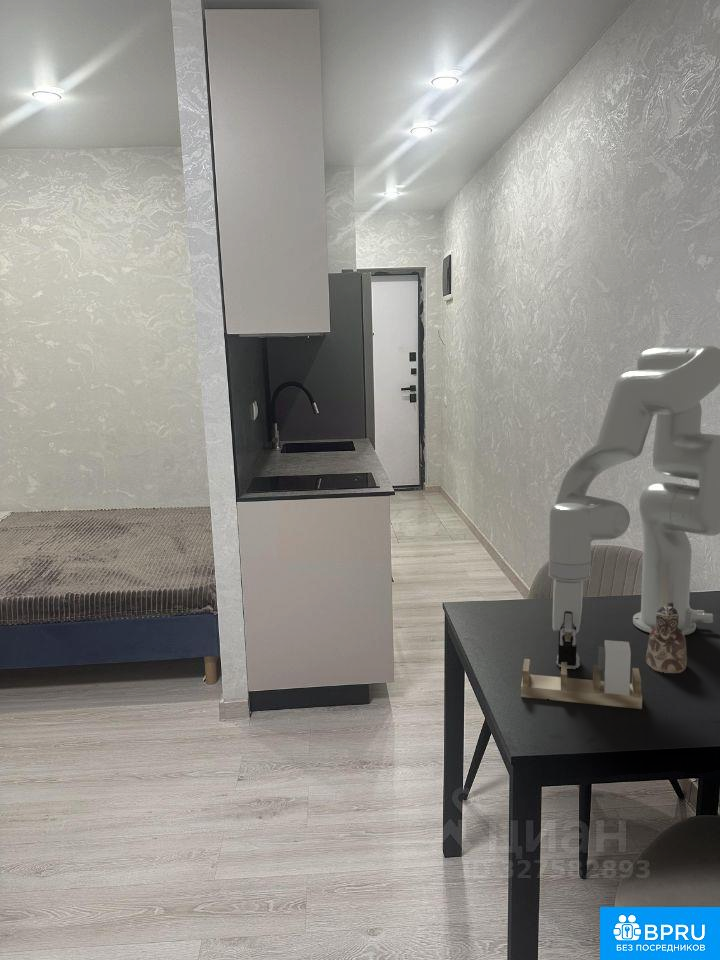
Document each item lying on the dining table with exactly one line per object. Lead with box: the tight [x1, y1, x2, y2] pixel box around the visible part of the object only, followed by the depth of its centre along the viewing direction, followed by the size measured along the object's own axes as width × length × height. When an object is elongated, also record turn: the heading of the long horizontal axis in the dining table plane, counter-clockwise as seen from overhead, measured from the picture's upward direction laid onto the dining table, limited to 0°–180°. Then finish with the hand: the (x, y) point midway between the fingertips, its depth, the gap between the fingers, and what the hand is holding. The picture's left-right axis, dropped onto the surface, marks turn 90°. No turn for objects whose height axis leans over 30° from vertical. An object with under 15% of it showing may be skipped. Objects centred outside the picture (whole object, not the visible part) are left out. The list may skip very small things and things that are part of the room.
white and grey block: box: [597, 639, 632, 695], centre depth 120 cm, size 5×4×8 cm
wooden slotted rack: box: [520, 658, 643, 710], centre depth 122 cm, size 20×5×5 cm, turn 74°
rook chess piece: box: [555, 625, 581, 670], centre depth 134 cm, size 4×4×8 cm
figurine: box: [645, 602, 688, 674], centre depth 132 cm, size 7×7×12 cm
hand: (567, 653), depth 134 cm, fingers open, 9 cm apart
